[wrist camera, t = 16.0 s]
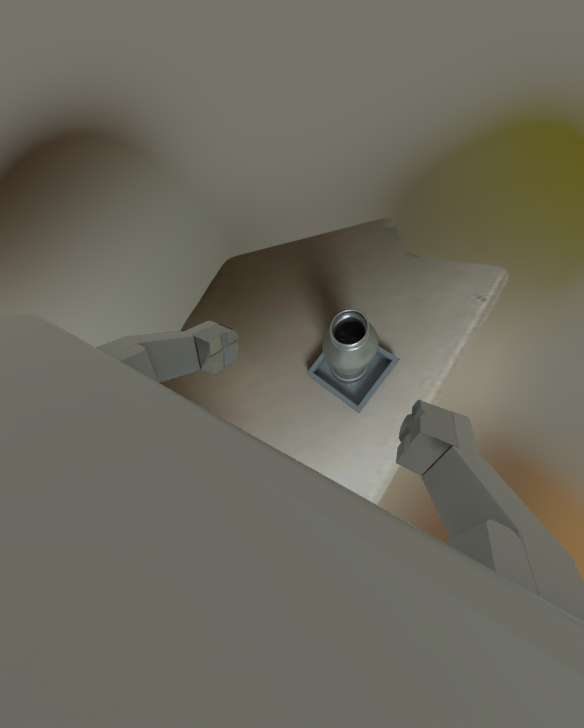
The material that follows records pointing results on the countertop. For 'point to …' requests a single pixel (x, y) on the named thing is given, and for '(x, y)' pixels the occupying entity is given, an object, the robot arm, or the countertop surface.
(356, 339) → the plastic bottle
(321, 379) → the holder
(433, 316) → the countertop surface
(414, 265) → the countertop surface
